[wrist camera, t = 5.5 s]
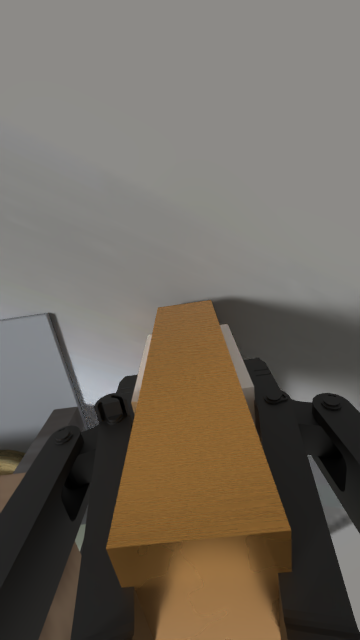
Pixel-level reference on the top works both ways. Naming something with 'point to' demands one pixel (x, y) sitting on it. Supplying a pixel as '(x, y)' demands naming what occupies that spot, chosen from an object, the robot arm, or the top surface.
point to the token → (9, 461)
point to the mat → (32, 384)
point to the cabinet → (63, 604)
